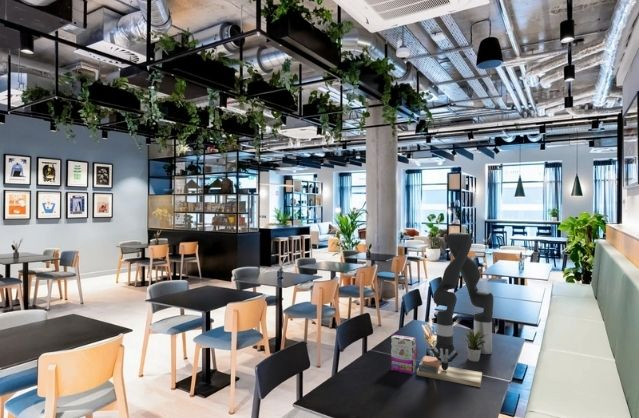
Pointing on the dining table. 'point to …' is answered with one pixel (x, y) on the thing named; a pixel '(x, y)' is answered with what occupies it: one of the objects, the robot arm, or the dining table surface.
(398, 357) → the candy bar box
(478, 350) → the house plant
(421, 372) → the board
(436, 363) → the carton
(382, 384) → the dining table surface
